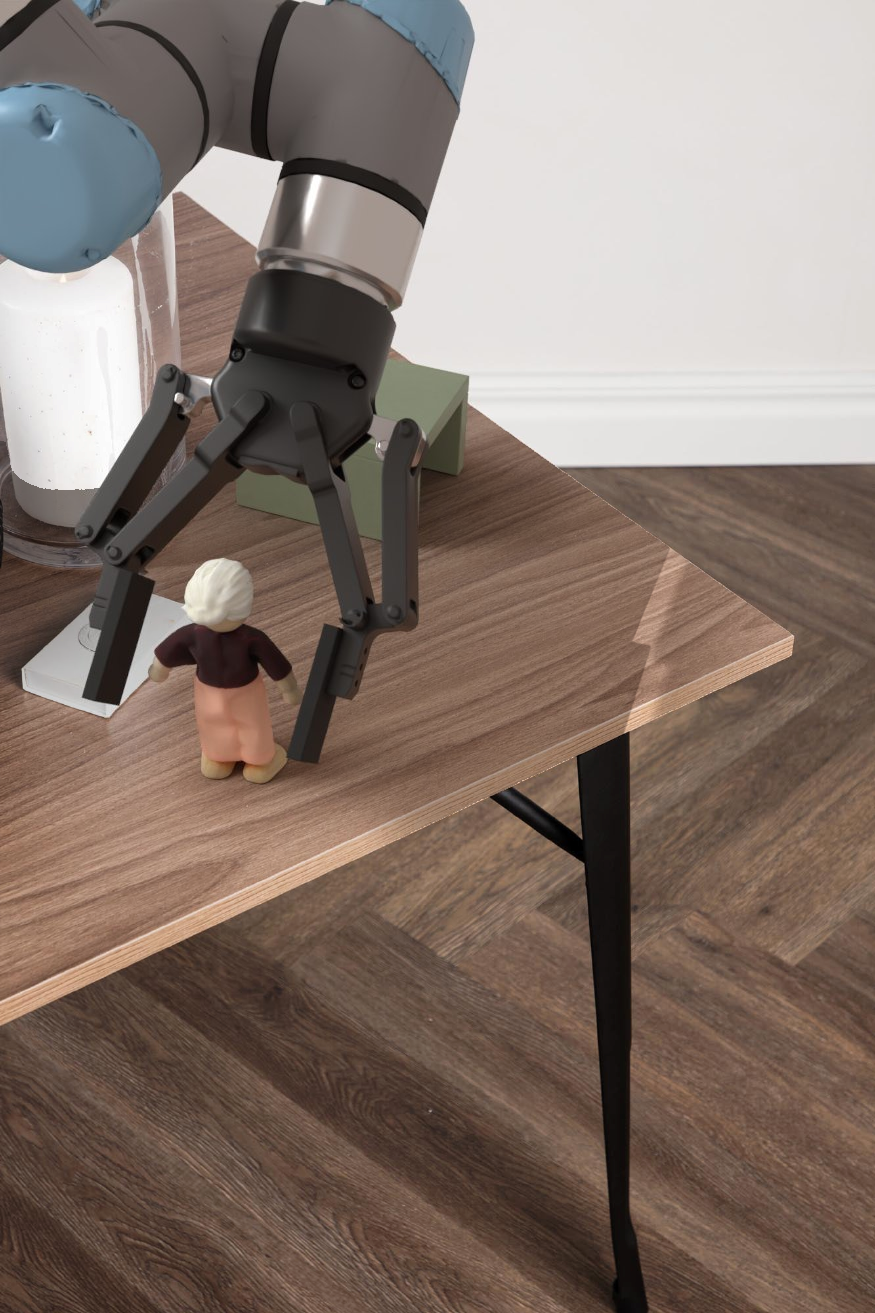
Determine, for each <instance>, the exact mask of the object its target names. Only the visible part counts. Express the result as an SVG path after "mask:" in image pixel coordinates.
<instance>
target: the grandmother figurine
mask: <svg viewBox="0 0 875 1313" xmlns="http://www.w3.org/2000/svg"><path fill="white" fill-rule="evenodd" d="M254 590H255V585H254V584H253V582H252V575H251V573H250V571H249V569H247V568H246V567H244V565H243V563H242V562H240V561H238V560H233V559H228V558H226V557H221V558H213V559H210V560H207V561H205V562H204V563H202V564H201V566H200V567H198V568H197V569H196V570H195V571H194V573H193V575H192V577H191V578H190V580H188V582H187V585H186V587H185V591H184V596H183V597H184V602H185V603H184V605H183V606H181V607H180V609H181V610H182V611H183V612H185V614H186V616H187V617H188V619H189V620H190V621H191V622H192V623H188V624H186V625H183V626H181V627H179V628H177V629H176V630H175V631H172V632H171V633H170V634H169V635H167V636H166V637H165V639H163V641H161V642H160V643H159V644H158V645H157V646H156V647H155V648H154V651H153V654H154V658H153V659H152V664H150V666H149V667H148V670H147V676H148V678H149V679H150V681H152V682H153V683H158V684H160V683H164V682H165V681H166V680H168V678H169V676H170V672H171V671H172V670H173V669H174V668H179V667H182V666H194V665H196V669H195V672H194V674H193V697H194V698H193V699H194V715H195V721H196V724H197V730H198V736H199V742H200V743H199V744H200V747H201V759H200V761H201V762H200V771H201V773H202V775H203V776H204V777H205V778H208V779H214V780H215V779H216V780H221V779H225V778H227V777H229V776H230V775H231V774H232V772H233V771H234V768H235V766H236V764H237V762H242V761H243V762H244V763H245V764H244V766H243V769H242V776H243V778H244V779H245V780H246V781H248V782H250V783H251V782H252V783H255V784H265V783H268V782H269V781H270V780H272V779H273V778H274V777H275V776H276V775H277V774H278V773H279V772H280V771H281V770H282V769H283V768H284V766H285V765H286V764H287V763H288V760H289V758H286V755H287V751H286V750H285V748H284V747H283V746H281V744H279V743H277V742H275V740H274V733H273V726H272V720H271V713H270V704H269V697H268V691H267V686H266V682H265V680H264V678H263V675H262V672H261V671H260V667H261V668H262V669H263V670H264V672H265V673H266V674H267V676H268V677H269V678H270V679H271V680H272V681H273V682H274V684H275V685H276V687H277V688H276V689H277V690H278V691H279V692H281V695H282V700H283V701H284V702H285V703H286V704H287V705H288V706H297V705H300V704H301V703H302V699H303V696H304V690H303V689H302V687H301V686H299V684H298V679H297V676H296V674H295V673H294V671H293V665H292V664H291V662H290V661H289V660H288V658H287V657H286V656H285V654H284V653H283V652H282V651H281V650H280V649H279V647H278V646H277V644H275V643H274V641H273V640H272V639H271V638H270V636H268V634H267V633H266V632H264V631H263V630H261V629H259V628H256V627H254V626H252V625H249V624H246V623H245V622H246V620H247V619H248V617H249V616H250V615H251V614H252V603H253V601H254V599H255V596H254ZM259 666H260V667H259Z"/></svg>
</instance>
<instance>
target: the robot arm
mask: <svg viewBox="0 0 875 1313" xmlns="http://www.w3.org/2000/svg"><path fill="white" fill-rule="evenodd" d="M475 37H476V35H475V30H474V26H473V22H472V18H471V16H470V15H469V13H468V11H467V9H466V7H465V5H464V4H463V3H462V2H461V0H325V3H324V4H318V3H314V2H310V1H306V0H303V1H297V0H0V255H1V256H3V257H4V258H6V259H7V260H9V261H11V262H13V263H15V264H16V265H19V266H21V267H24V268H27V269H29V270H33V271H37V272H41V273H46V274H53V275H55V274H58V275H59V274H72V273H77V272H78V273H79V272H80V271H84V270H87V269H89V268H92V267H93V266H96V265H98V264H99V263H101V262H102V261H105V260H106V259H108V258H109V257H110V256H111V255H112V254H114V252H115V251H117V250H118V249H119V248H120V247H121V246H122V245H123V244H124V243H126V242H127V240H129V239H131V238H134V237H136V236H137V235H138V234H140V233H141V232H142V231H143V230H145V228H146V227H147V226H148V225H149V224H150V223H151V221H152V219H153V217H154V215H155V213H156V211H157V210H158V208H159V207H160V206H161V205H162V203H163V202H164V201H165V200H166V199H167V197H168V196H170V194H171V193H172V192H173V190H175V188H176V187H177V186H178V185H179V184H180V183H181V181H182V180H183V179H184V178H185V177H186V176H187V175H188V174H189V173H190V172H192V170H194V169H195V167H196V166H197V165H198V164H199V163H200V162H201V161H202V160H203V158H204V157H205V156H206V155H207V154H208V153H209V152H210V151H211V150H212V149H213V147H216V148H220V149H224V150H229V151H233V152H235V153H240V154H243V155H247V156H251V157H254V158H259V159H261V160H266V161H270V162H281V163H282V165H281V169H280V171H279V175H278V179H277V182H276V188H275V191H274V195H273V198H272V201H271V204H270V207H269V210H268V213H267V216H266V220H265V222H264V226H263V229H262V233H261V235H260V239H259V242H258V245H257V248H256V252H255V254H254V260H255V263H256V265H257V266H258V268H259V269H260V270H259V271H257V272H256V273H255V274H253V275H251V276H250V277H249V278H248V281H247V284H246V288H245V291H244V295H243V298H242V300H241V304H240V307H239V311H238V315H237V318H236V322H235V325H234V328H233V332H232V336H231V341H230V347H229V353H228V357H227V359H226V360H225V362H224V363H223V366H222V367H221V368H220V369H219V370H218V372H216V374H215V375H214V376H207V375H201V374H196V373H190V372H185V371H183V370H182V369H180V368H179V367H178V366H177V365H175V364H173V363H165V364H163V365H161V367H160V368H159V369H158V371H157V373H156V377H155V381H154V386H153V390H152V394H151V398H150V403H149V406H148V408H147V409H146V411H145V413H144V414H143V416H142V418H141V419H140V421H139V423H138V424H137V426H136V427H135V429H134V431H133V433H132V434H131V436H130V437H129V439H128V441H127V442H126V443H125V446H124V447H123V449H122V451H121V452H120V454H119V455H118V457H117V459H116V460H115V462H114V463H113V465H112V467H111V468H110V470H109V472H108V473H107V475H106V477H105V478H104V480H103V481H102V483H101V485H100V486H99V488H98V489H97V491H96V492H95V494H94V496H93V498H92V499H91V500H90V503H89V504H88V505H87V507H86V509H85V511H84V513H82V516H81V517H80V519H79V521H78V522H77V524H76V526H75V528H74V537H75V539H76V541H77V542H79V543H81V544H83V545H85V546H86V547H87V548H88V549H90V550H91V551H93V552H94V553H95V554H97V555H98V556H99V557H100V560H101V563H102V571H101V573H100V577H99V581H98V585H97V588H96V590H95V594H94V598H93V601H92V606H91V607H90V612H89V615H88V624H89V628H91V629H94V630H98V631H100V633H99V637H98V640H97V644H96V647H95V649H94V653H93V656H92V661H91V663H90V667H89V670H88V675H87V677H86V680H85V684H84V688H83V690H82V691H83V692H82V695H81V698H82V699H85V700H88V701H91V702H96V703H100V704H106V705H113V706H117V707H120V705H121V702H122V699H123V695H124V692H125V689H126V688H125V687H126V685H127V681H128V678H129V674H130V671H131V668H132V664H133V661H134V658H135V654H136V650H137V647H138V643H139V640H140V637H141V633H142V630H143V626H144V623H145V619H146V617H147V613H148V610H149V606H150V602H151V599H152V596H153V592H154V589H155V586H156V582H157V580H154V579H151V578H150V577H146V575H147V574H149V571H148V570H147V569H146V567H147V566H148V565H149V564H150V563H151V562H152V561H153V560H154V559H155V558H156V557H157V556H158V555H159V554H160V553H161V552H162V551H163V550H164V549H165V547H166V546H168V544H170V542H171V541H173V539H175V538H176V537H177V535H179V533H180V532H181V531H183V529H184V528H185V527H186V526H187V525H188V524H190V522H191V521H192V520H193V519H194V518H195V517H196V516H197V515H198V514H199V513H200V512H201V511H202V510H204V508H205V507H206V506H207V505H208V504H209V503H210V501H211V500H213V498H215V497H216V496H217V494H218V493H220V491H221V490H222V489H223V488H224V487H226V485H228V484H229V483H231V482H234V481H236V479H237V478H239V477H240V476H241V475H242V474H243V473H244V472H245V471H246V470H247V469H248V470H249V471H251V472H253V473H257V474H262V475H282V476H284V477H286V478H288V479H289V480H291V481H293V482H295V483H298V484H302V485H307V486H308V487H309V490H310V492H311V494H312V496H313V499H314V503H315V507H316V511H317V515H318V519H319V524H320V525H319V527H320V531H321V532H320V533H321V535H322V539H323V544H324V548H325V552H326V555H327V561H328V564H329V568H330V572H331V577H332V581H333V585H334V589H335V593H336V594H335V595H336V597H337V601H338V606H339V611H340V614H341V616H340V617H338V620H339V622H340V624H341V625H342V628H341V627H339V626H336V625H332V624H328V623H325V622H324V623H323V627H322V629H321V632H320V637H319V639H318V644H317V647H316V651H315V653H314V657H313V661H312V663H311V664H312V665H311V668H310V672H309V674H308V678H307V682H306V685H305V689H304V691H303V693H304V696H303V699H302V701H301V702H300V707H299V710H298V713H297V717H296V720H295V724H294V729H293V731H292V735H291V737H290V742H289V745H288V748H287V751H286V754H287V755H286V758H288V760H292V761H296V762H298V763H305V764H314V765H319V761H320V757H321V754H322V751H323V750H322V749H323V747H324V743H325V740H326V736H327V732H328V729H329V725H330V722H331V719H332V715H333V711H334V708H335V704H336V702H337V698H341V699H344V700H346V701H351V702H352V701H353V700H354V699H355V697H356V696H357V695H358V694H359V691H360V688H361V685H362V680H363V677H364V673H365V670H366V666H367V662H368V660H369V656H370V652H371V649H372V645H373V643H374V641H375V640H376V639H377V637H378V636H380V635H383V634H386V633H397V632H402V633H403V632H404V633H409V632H412V631H413V630H415V629H416V628H417V627H418V625H419V622H420V605H419V604H420V602H419V601H420V600H419V597H420V596H419V594H420V593H419V592H420V591H419V590H420V588H419V587H420V586H419V584H420V583H419V579H420V578H419V522H418V477H419V474H420V475H421V473H420V471H422V466H423V463H424V460H425V457H426V454H427V451H428V448H429V443H430V441H429V438H428V436H427V435H426V434H425V433H424V431H423V430H422V429H421V428H420V427H419V425H418V424H417V423H416V422H415V421H414V420H412V419H411V418H404V419H401V420H400V421H395V420H392V419H389V418H385V417H382V416H378V415H377V412H376V407H375V398H376V394H377V391H378V388H379V386H380V382H381V379H382V375H383V372H384V368H385V365H386V361H387V358H389V354H390V351H391V347H392V344H393V340H394V336H395V333H396V330H397V322H396V321H395V317H394V315H393V313H392V312H394V311H396V310H398V309H400V308H401V307H402V306H403V303H404V300H405V296H406V293H407V289H408V286H409V283H410V279H411V276H412V272H413V269H414V266H415V262H416V258H417V255H418V251H419V248H420V246H421V241H422V238H423V235H424V231H425V226H426V224H427V219H428V215H429V212H430V209H431V205H432V203H433V198H434V195H435V192H436V189H437V186H438V183H439V180H440V176H441V174H442V169H443V166H444V163H445V159H446V156H447V153H448V149H449V146H450V143H451V139H452V136H453V133H454V129H455V126H456V123H457V121H458V120H459V116H460V113H461V102H462V96H463V92H464V87H465V85H466V84H465V83H466V79H467V76H468V71H469V66H470V62H471V57H472V54H473V50H474V44H475V41H476V38H475ZM209 403H212V406H213V409H214V412H215V415H216V418H217V421H218V423H217V424H216V425H215V426H214V427H213V428H212V429H211V430H210V431H209V432H208V433H207V434H206V435H205V437H203V438H202V439H201V440H200V441H199V443H198V444H197V445H196V446H195V449H194V452H193V455H192V456H191V457H190V458H189V459H188V460H187V461H186V463H184V465H183V466H182V467H180V469H179V470H178V471H176V472H175V474H174V475H173V476H172V477H171V478H170V479H169V480H168V481H167V482H166V483H165V484H164V485H163V486H162V487H161V488H160V489H159V490H158V491H157V492H156V493H155V494H154V495H153V496H152V497H151V498H150V500H149V501H147V502H146V504H144V503H145V501H146V499H147V498H148V496H149V494H150V493H151V492H152V490H153V488H154V487H155V484H156V483H157V481H158V479H159V478H160V476H161V475H162V474H163V471H164V470H165V469H166V466H167V464H168V463H169V462H170V460H171V458H172V457H173V455H174V454H175V452H176V451H177V449H178V447H179V445H180V444H181V442H182V441H183V439H184V437H185V435H186V433H187V432H188V429H189V427H190V424H191V422H192V420H193V419H196V418H198V417H200V416H201V415H202V413H203V410H204V408H205V407H206V405H208V404H209ZM371 438H373V439H375V442H376V449H375V452H376V455H377V457H378V458H379V459H380V460H381V461H382V462H383V466H382V478H381V490H382V541H381V602H379V603H376V598H375V595H374V590H373V586H372V583H371V579H370V573H369V571H368V566H367V562H366V559H365V558H366V557H365V554H364V550H363V546H362V541H361V536H360V535H359V533H358V529H357V525H356V521H355V517H354V513H353V509H352V505H351V492H350V488H349V483H348V479H347V475H346V471H345V467H344V463H343V462H344V461H345V460H347V459H348V458H349V457H350V456H351V455H353V454H354V453H355V452H356V451H357V450H359V449H360V448H361V447H362V446H363V445H365V444H366V443H367V442H368V441H369V440H370V439H371ZM143 504H144V506H143ZM142 506H143V507H142ZM141 507H142V508H141Z"/></svg>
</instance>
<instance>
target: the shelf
mask: <svg viewBox="0 0 875 1313" xmlns="http://www.w3.org/2000/svg"><path fill="white" fill-rule="evenodd" d="M469 388H470V375H467V374H462V373H458V372H455V371H454V372H453V371H448V370H445V369H441V368H435V367H431V366H426V365H421V364H417V363H414V362H413V363H412V362H408V361H403V360H399V359H394V358H390V357H388V358H387V361H386V365H385V368H384V372H383V375H382V379H381V382H380V386H379V388H378V391H377V394H376V398H375V407H376V412H377V415H378V416H382V417H385V418H389V419H392V420H395V421H400V420H401V419H404V418H411V419H412V420H414V421H415V422H416V423H417V424H418V425H419V427H420V428H421V429H422V430H423V431H424V433H425V434H426V435H427V436H428V438H429V441H430V443H429V448H428V451H427V454H426V457H425V460H424V463H423V466H422V468H423V469H425V470H431V471H435V472H439V473H444V474H447V475H452V476H458V477H459V475H460V474H461V472H462V470H463V469H464V465H465V464H464V463H465V451H466V449H465V448H466V434H467V420H468V419H467V418H468V403H469V390H470V389H469ZM375 449H376V442H375V439H373V438H371V439H370V440H369V441H368V442H367V443H366V444H365V445H363V446H362V447H361V448H360V449H359V450H357V451H356V452H355V453H354V454H353V455H351V456H350V457H349V458H348V459H347V460H345V461H344V462H343V463H344V467H345V471H346V475H347V479H348V483H349V488H350V492H351V505H352V509H353V513H354V517H355V521H356V525H357V529H358V533H359V537H364V538H369V539H373V540H377V541H380V542H382V490H381V478H382V466H383V462H382V461H381V460H380V459H379V458H378V457H377V455H376V452H375ZM422 468H421V469H422ZM421 471H422V470H421ZM421 471H420V474H419V477H418V523H419V522H420V521H419V520H420V519H419V518H420V496H421V474H422V473H421ZM235 492H236V493H235V494H236V505H237V506H240V507H244V508H245V507H246V508H248V509H253V510H257V511H260V512H265V513H268V514H273V515H276V516H281V517H285V518H289V519H292V520H297V521H300V522H304V523H308V524H313V525H317V526H320V524H319V519H318V515H317V511H316V507H315V503H314V499H313V496H312V494H311V492H310V490H309V487H308V486H307V485H302V484H298V483H295V482H293V481H291V480H289V479H288V478H286V477H284V476H282V475H262V474H257V473H253V472H251V471H249V470H248V469H247V470H246V471H245V472H244V473H243V474H242V475H241V476H240V477H239V478H237V479H236V480H235Z"/></svg>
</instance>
